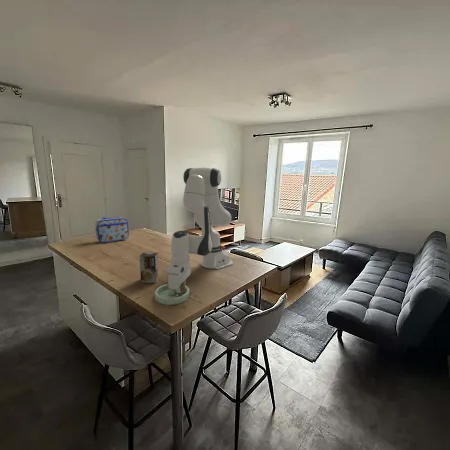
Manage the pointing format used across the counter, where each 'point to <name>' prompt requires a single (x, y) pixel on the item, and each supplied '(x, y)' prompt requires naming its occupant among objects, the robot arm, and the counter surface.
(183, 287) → the brown short cylinder
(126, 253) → the counter surface
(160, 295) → the tray
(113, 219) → the lunch box
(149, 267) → the coffee box
